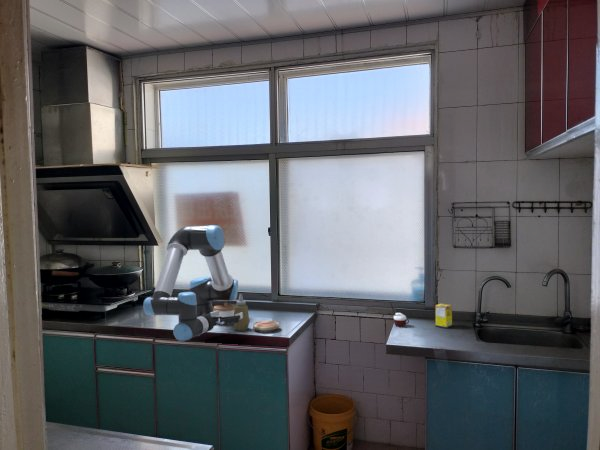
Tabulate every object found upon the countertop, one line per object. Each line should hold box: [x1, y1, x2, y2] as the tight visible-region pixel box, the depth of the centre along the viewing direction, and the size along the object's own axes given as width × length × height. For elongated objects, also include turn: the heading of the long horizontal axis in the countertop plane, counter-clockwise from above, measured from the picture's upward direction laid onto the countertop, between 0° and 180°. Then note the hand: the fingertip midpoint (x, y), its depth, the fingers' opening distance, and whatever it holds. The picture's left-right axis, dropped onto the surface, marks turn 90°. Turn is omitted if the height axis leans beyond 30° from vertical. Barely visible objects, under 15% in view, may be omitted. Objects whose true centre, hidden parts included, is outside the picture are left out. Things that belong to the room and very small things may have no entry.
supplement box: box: [434, 303, 453, 329], centre depth 227 cm, size 6×6×11 cm
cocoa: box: [389, 302, 410, 328], centre depth 230 cm, size 10×6×12 cm, turn 68°
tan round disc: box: [252, 320, 280, 333], centre depth 227 cm, size 13×13×3 cm
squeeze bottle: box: [233, 293, 250, 332], centre depth 228 cm, size 8×8×18 cm
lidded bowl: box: [213, 301, 236, 325], centre depth 242 cm, size 13×13×11 cm
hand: (230, 313), depth 219 cm, fingers open, 13 cm apart
